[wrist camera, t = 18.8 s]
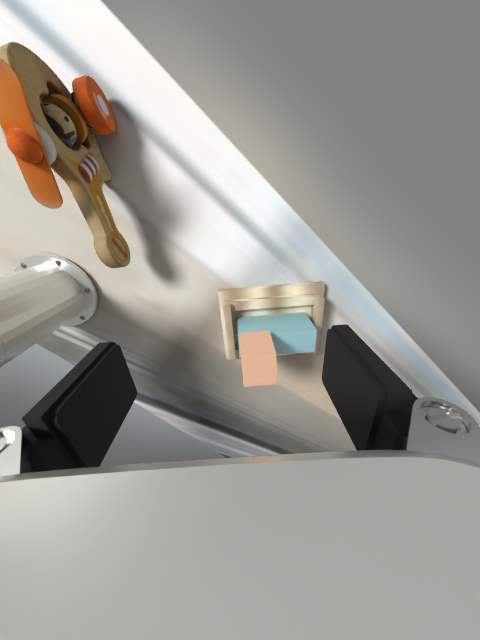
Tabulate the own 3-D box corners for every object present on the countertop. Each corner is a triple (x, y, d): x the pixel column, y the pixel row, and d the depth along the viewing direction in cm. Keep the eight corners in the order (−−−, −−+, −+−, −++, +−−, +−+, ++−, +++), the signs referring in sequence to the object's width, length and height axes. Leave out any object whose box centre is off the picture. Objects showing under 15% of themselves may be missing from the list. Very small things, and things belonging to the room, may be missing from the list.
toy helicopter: (100, 76, 26) (-20, -44, 14) (163, 253, 35) (124, 276, 23) (37, 94, 27) (-132, -5, 14) (115, 263, 36) (52, 291, 24)
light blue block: (239, 336, 41) (239, 357, 35) (237, 317, 39) (237, 335, 33) (303, 331, 41) (314, 351, 35) (304, 311, 39) (316, 329, 33)
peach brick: (242, 359, 35) (244, 386, 30) (239, 333, 33) (240, 356, 28) (270, 357, 35) (276, 383, 30) (269, 330, 33) (276, 353, 28)
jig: (226, 355, 44) (226, 367, 41) (218, 289, 38) (216, 297, 35) (316, 349, 44) (322, 360, 41) (322, 281, 38) (331, 288, 34)
